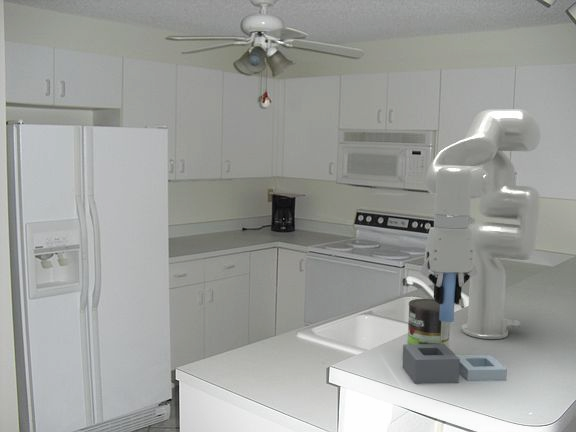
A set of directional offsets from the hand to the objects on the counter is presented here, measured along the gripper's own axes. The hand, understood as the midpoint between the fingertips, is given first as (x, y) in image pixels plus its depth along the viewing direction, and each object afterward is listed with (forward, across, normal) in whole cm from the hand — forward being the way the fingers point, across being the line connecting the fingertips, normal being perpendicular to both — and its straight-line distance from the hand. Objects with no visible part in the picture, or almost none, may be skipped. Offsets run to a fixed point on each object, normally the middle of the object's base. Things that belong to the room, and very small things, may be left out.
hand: (447, 301), depth 137 cm
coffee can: (+18, 0, -12) cm, 21 cm away
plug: (+4, 0, 0) cm, 4 cm away
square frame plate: (+18, -9, -1) cm, 20 cm away
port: (+18, +3, 0) cm, 18 cm away
